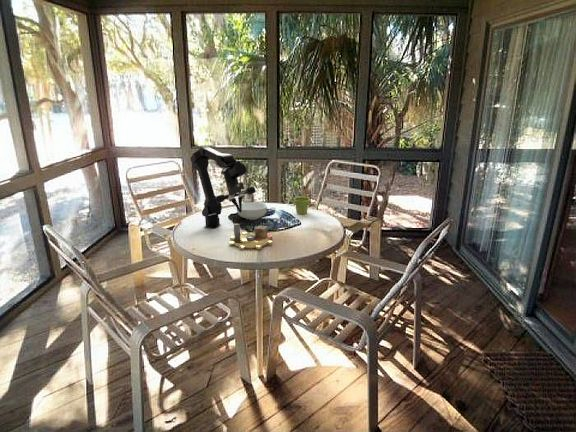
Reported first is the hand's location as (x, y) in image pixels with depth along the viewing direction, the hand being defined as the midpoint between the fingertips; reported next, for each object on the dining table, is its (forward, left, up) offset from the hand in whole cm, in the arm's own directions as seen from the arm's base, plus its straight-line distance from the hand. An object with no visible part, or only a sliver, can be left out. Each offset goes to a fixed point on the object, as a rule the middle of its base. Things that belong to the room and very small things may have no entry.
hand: (240, 212), depth 184 cm
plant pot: (+14, +50, -14) cm, 54 cm away
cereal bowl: (-10, +33, -14) cm, 37 cm away
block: (+9, +3, -12) cm, 15 cm away
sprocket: (+5, -1, -14) cm, 15 cm away
